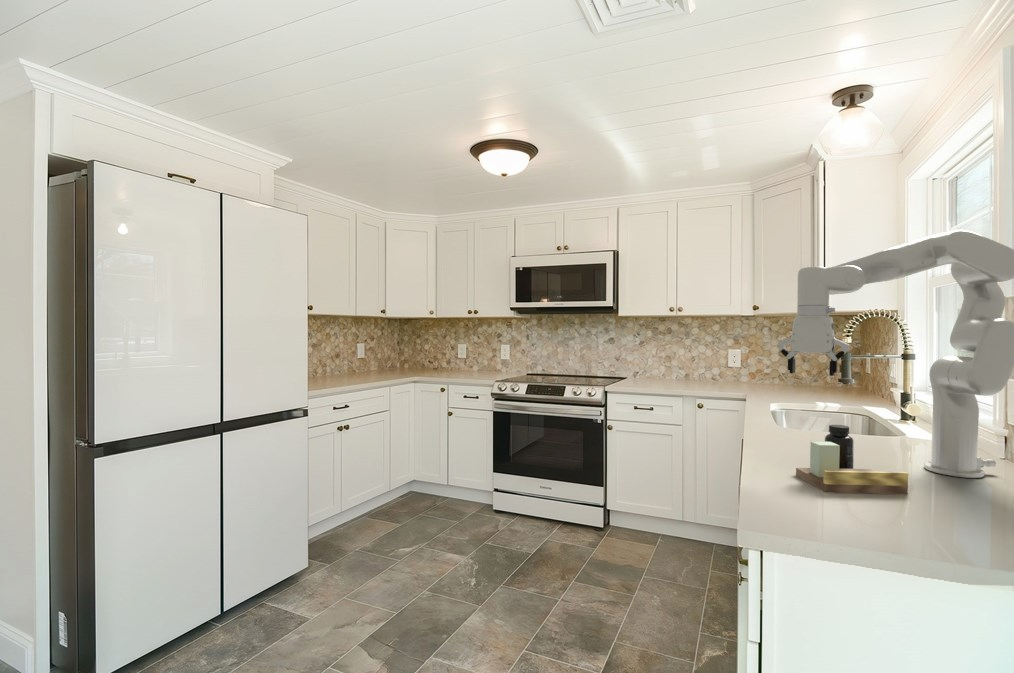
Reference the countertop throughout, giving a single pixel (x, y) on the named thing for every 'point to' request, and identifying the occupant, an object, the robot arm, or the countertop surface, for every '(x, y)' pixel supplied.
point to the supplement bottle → (842, 445)
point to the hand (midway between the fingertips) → (811, 374)
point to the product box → (824, 457)
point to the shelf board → (857, 481)
